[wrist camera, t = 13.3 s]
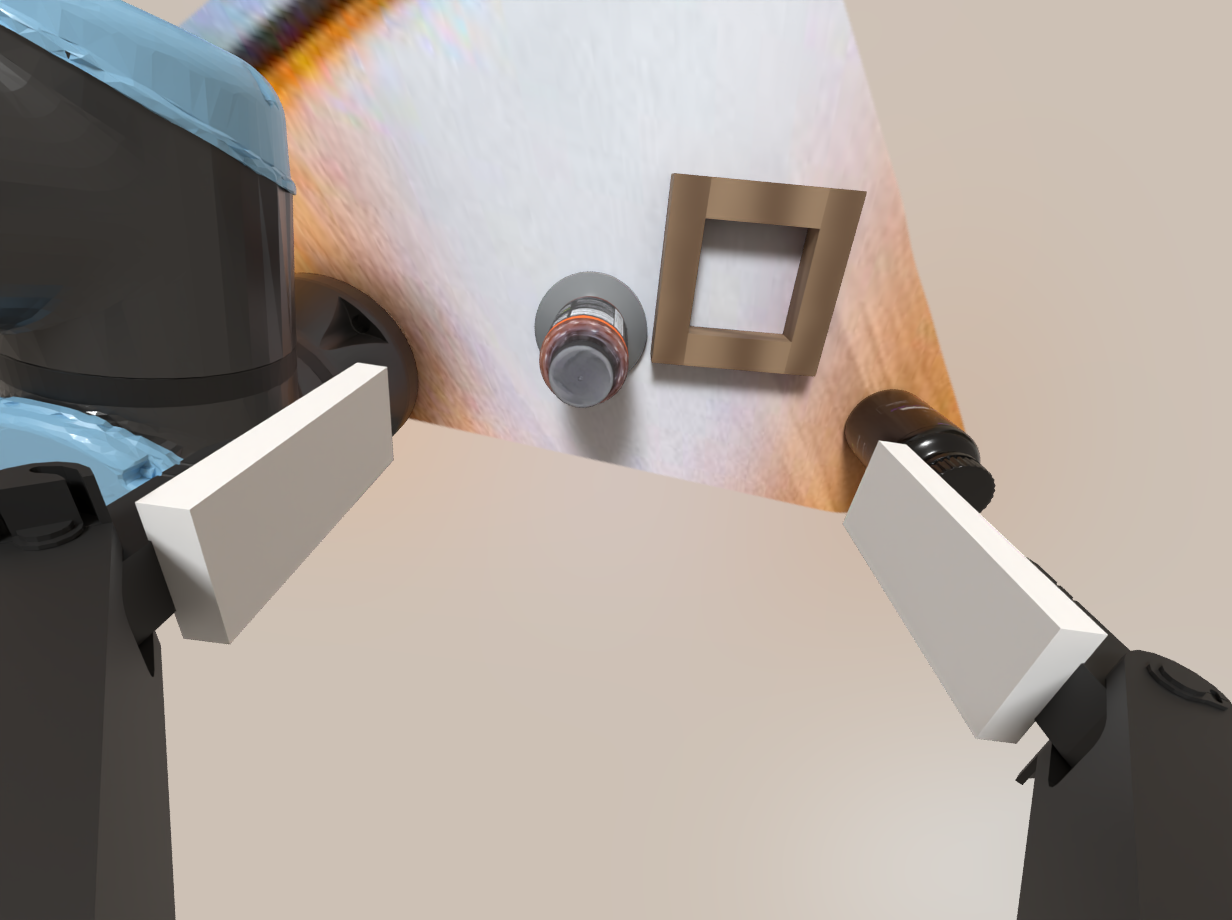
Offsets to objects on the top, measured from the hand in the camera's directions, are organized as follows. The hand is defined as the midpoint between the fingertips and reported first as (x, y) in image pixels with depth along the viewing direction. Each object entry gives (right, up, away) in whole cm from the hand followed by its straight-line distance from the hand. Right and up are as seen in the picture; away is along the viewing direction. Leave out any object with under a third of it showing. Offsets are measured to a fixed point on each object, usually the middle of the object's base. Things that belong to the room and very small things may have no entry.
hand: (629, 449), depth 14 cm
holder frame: (+9, +14, +25) cm, 30 cm away
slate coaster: (-2, +10, +28) cm, 29 cm away
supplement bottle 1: (-2, +10, +27) cm, 29 cm away
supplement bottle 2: (+23, +3, +31) cm, 39 cm away
